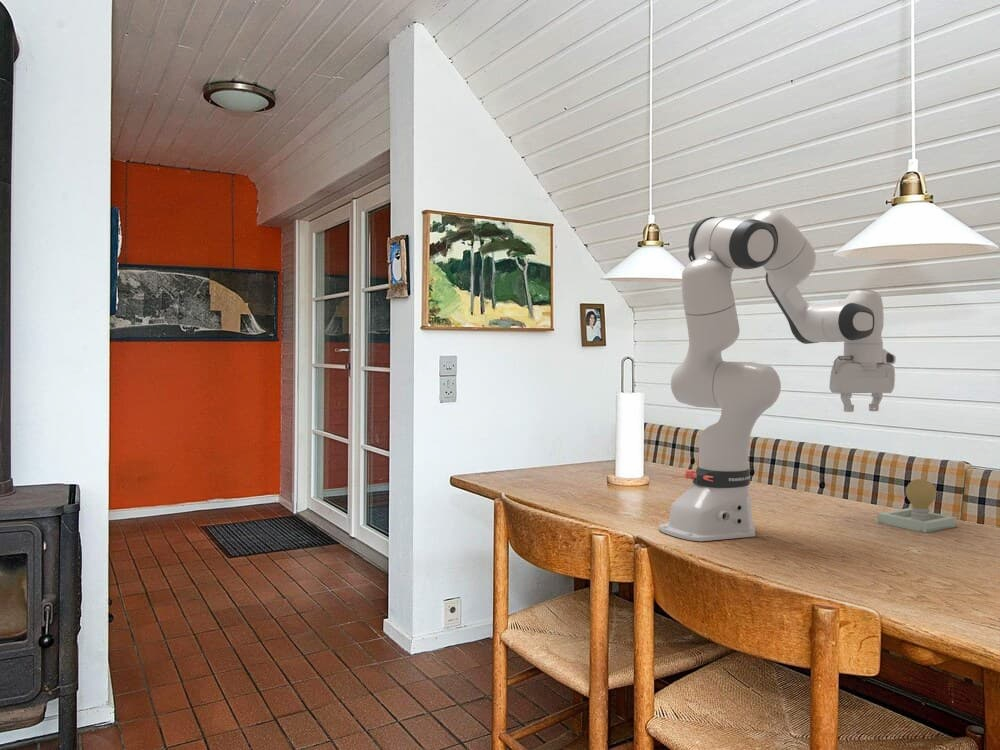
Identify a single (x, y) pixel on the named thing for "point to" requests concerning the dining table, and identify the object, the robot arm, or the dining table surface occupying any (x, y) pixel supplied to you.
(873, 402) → the robot arm
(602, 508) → the dining table surface
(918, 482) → the light bulb
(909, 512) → the tray
